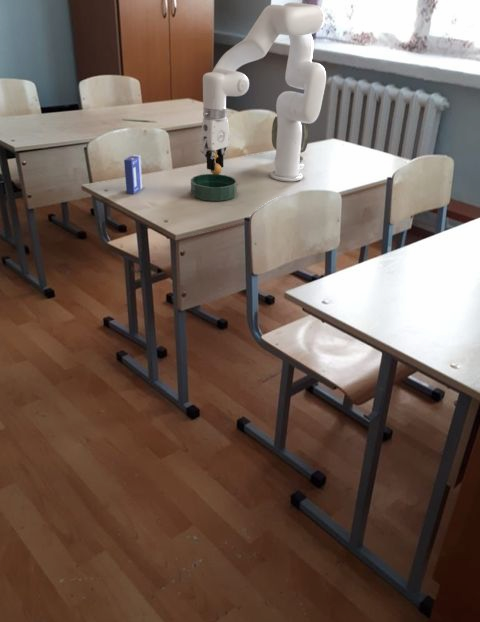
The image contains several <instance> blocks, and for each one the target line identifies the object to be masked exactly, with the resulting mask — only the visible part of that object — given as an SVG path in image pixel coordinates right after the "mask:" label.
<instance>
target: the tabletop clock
mask: <svg viewBox="0 0 480 622" xmlns="http://www.w3.org/2000/svg"><path fill="white" fill-rule="evenodd" d="M300 123H301V127H302V139H301V151H300V161H303V160H304V157H303V156H301V154H302V153H304V152H305V151H306V150H307V147H308V142H309V133H310V131H309V124H308V123H303V122H300ZM277 128H278V121H277V115H276V116H274V118H273V121H272V127H271V143H272V147H273V148H274V150H276V145H277ZM275 160H276V157H275Z"/></svg>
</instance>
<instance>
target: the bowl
mask: <svg viewBox="0 0 480 622" xmlns="http://www.w3.org/2000/svg"><path fill="white" fill-rule="evenodd" d="M190 194H191V196H193V197H194V198H196V199H199V200H203V201H210V202H221V201H228V200H231V199H234V198H236V196H238V182H237V179H236V178H234V177H233V176H230V175H226V174H221V173H220V174H219V175H214V174H212V173H204V174H198V175H195V176H193V177H191V178H190Z"/></svg>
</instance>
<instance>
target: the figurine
mask: <svg viewBox="0 0 480 622" xmlns="http://www.w3.org/2000/svg"><path fill="white" fill-rule="evenodd" d="M207 148H208V146H207ZM208 149H209V148H208ZM209 153H210V154H211V151H209ZM216 155H217V152H216V150H215V151H214V157H213V159H215V160H216V158H218V155H217V156H216ZM222 169H223V167H222V168H221V166H220V165H219V164H217V163H215V170H210V174H214V175H219V174H220V175H221V173H222V172H223V171H222Z"/></svg>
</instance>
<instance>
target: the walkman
mask: <svg viewBox="0 0 480 622" xmlns="http://www.w3.org/2000/svg"><path fill="white" fill-rule="evenodd" d="M123 163H124V177H125V188H126V191H125V192H126V194H129V195H135V194H136V193H138V192H139V191H141V190H142V189H143V174H142V173H143V172H142V157H141V154H131V155H130V156H128V157H126V158H125V159H124V160H123Z"/></svg>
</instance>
